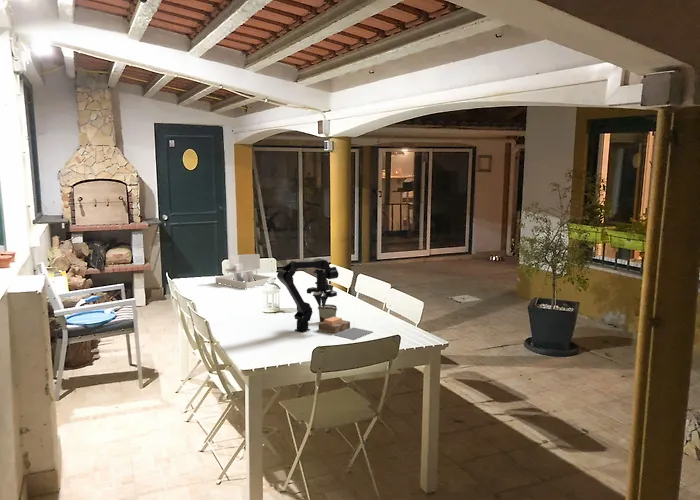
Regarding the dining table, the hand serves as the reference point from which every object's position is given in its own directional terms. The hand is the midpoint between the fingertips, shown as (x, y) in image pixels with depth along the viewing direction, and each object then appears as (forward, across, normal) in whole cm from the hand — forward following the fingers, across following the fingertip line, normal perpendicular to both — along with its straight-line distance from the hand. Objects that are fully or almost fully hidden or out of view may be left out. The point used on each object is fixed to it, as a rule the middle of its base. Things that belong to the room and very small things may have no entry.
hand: (321, 306), depth 325 cm
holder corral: (+12, +128, -57) cm, 141 cm away
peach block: (+8, -8, 0) cm, 12 cm away
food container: (+12, +4, -11) cm, 17 cm away
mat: (+12, -24, 0) cm, 26 cm away
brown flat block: (+12, -10, 0) cm, 15 cm away
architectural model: (+13, +128, -57) cm, 141 cm away
